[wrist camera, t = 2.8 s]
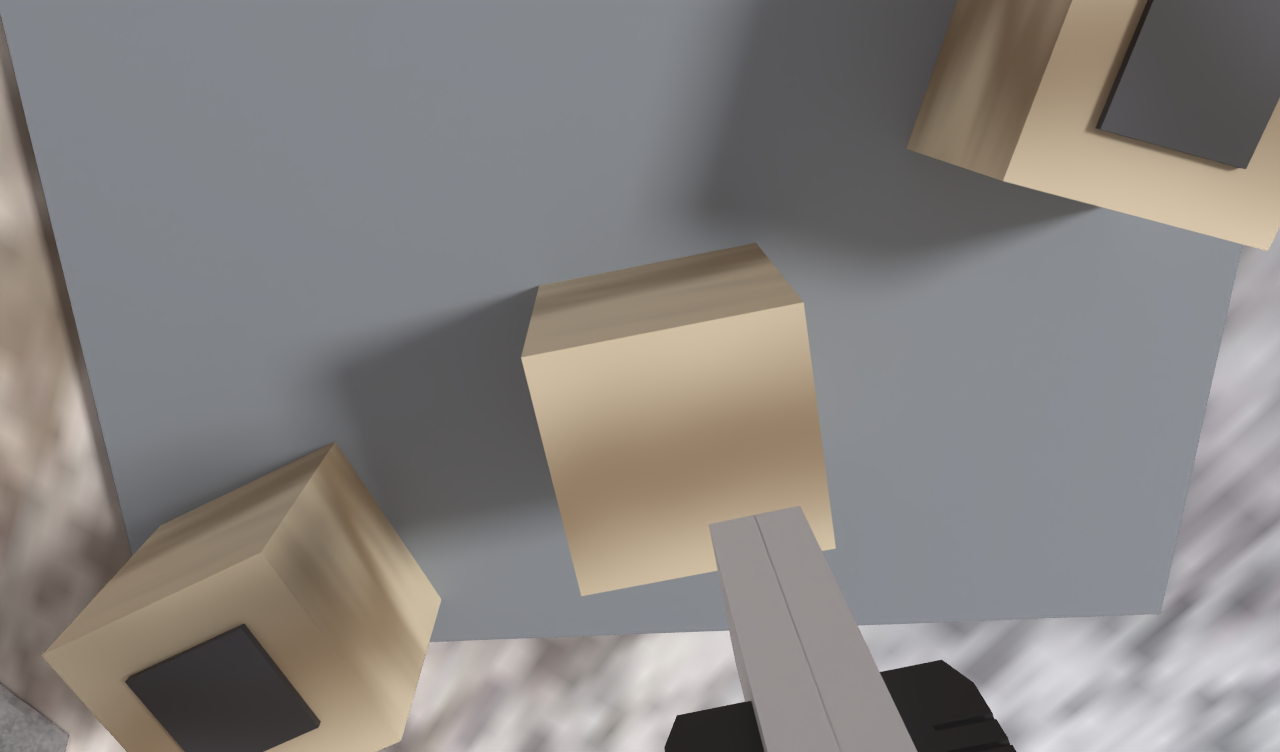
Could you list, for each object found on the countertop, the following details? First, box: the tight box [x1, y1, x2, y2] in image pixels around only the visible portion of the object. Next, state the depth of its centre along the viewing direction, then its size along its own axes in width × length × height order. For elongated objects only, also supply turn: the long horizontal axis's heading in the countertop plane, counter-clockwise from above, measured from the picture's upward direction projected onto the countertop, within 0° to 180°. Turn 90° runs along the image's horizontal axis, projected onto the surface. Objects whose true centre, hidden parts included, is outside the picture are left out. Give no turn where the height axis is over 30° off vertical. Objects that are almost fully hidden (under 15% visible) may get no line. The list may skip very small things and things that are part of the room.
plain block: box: [521, 243, 836, 596], centre depth 22 cm, size 6×6×6 cm
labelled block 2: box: [906, 0, 1280, 251], centre depth 20 cm, size 6×6×6 cm
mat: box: [0, 0, 1242, 642], centre depth 25 cm, size 20×32×1 cm, turn 91°
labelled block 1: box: [41, 442, 441, 752], centre depth 24 cm, size 6×6×6 cm
